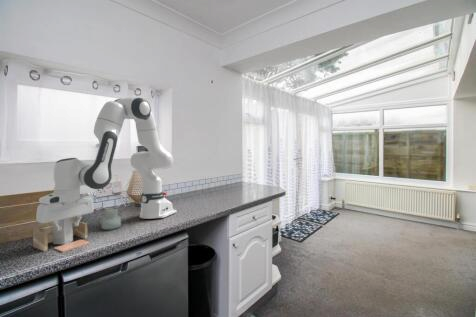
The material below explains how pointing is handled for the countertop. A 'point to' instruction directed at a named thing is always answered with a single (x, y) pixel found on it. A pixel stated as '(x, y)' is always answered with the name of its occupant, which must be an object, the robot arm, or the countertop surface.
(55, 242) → the skincare box
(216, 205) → the countertop surface
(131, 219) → the countertop surface
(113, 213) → the air freshener
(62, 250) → the tile
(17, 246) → the countertop surface
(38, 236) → the open wooden frame
